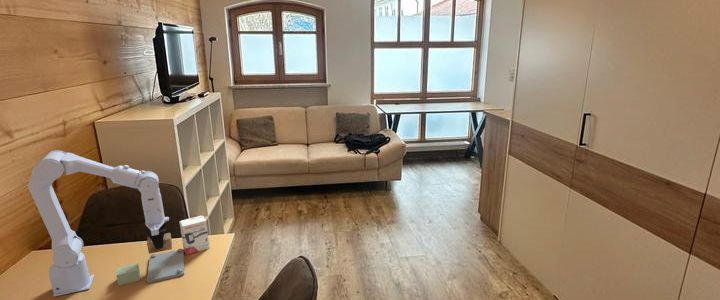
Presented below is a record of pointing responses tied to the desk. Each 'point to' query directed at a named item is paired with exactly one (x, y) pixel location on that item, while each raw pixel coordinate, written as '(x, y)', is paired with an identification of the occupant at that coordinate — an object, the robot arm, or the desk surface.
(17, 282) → the desk surface
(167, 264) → the baseplate
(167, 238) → the walnut brick
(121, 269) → the sage brick
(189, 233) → the ink box
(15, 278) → the desk surface
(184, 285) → the desk surface
